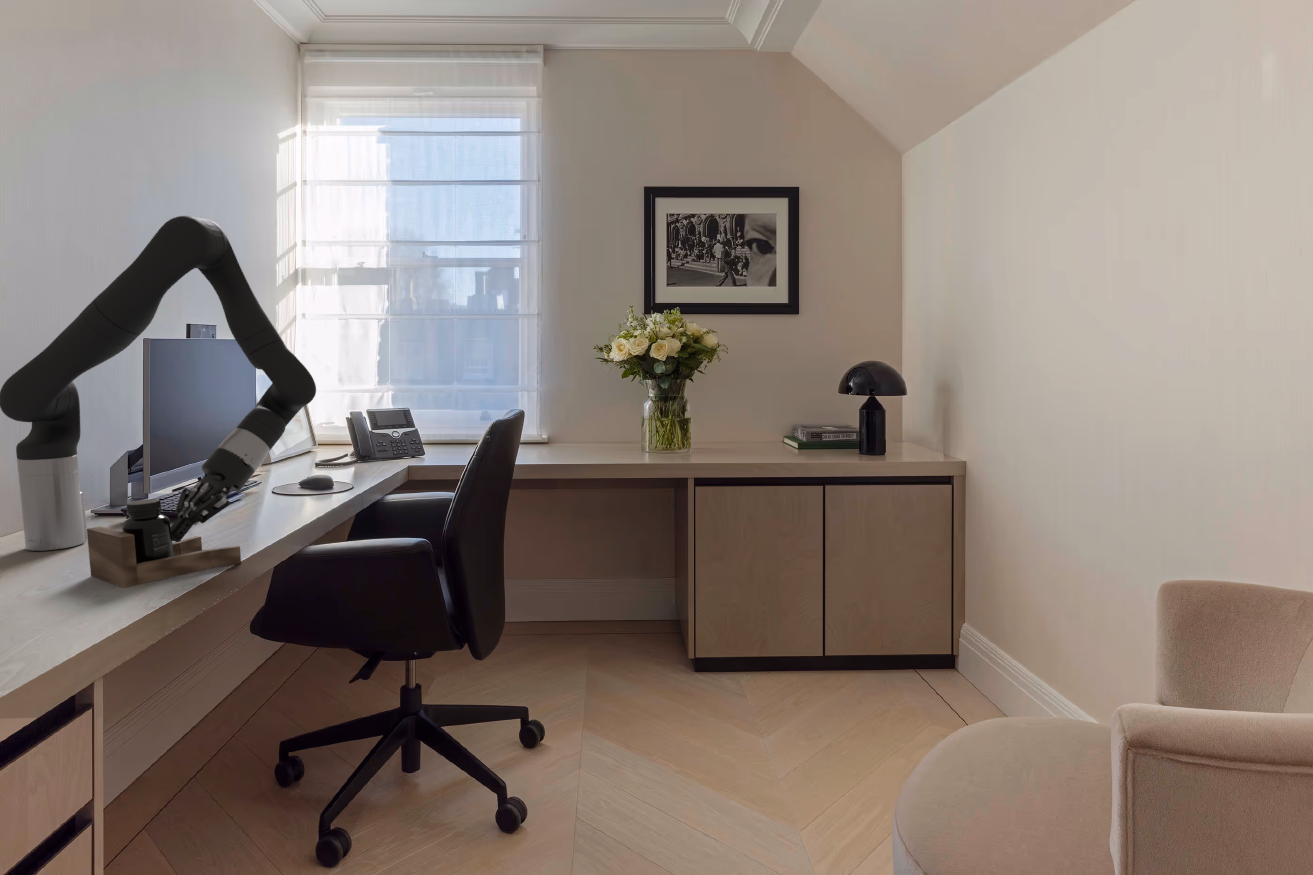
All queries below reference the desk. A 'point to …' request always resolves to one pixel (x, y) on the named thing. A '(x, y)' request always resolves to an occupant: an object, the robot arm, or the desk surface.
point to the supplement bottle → (149, 530)
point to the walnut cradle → (118, 561)
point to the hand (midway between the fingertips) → (171, 538)
